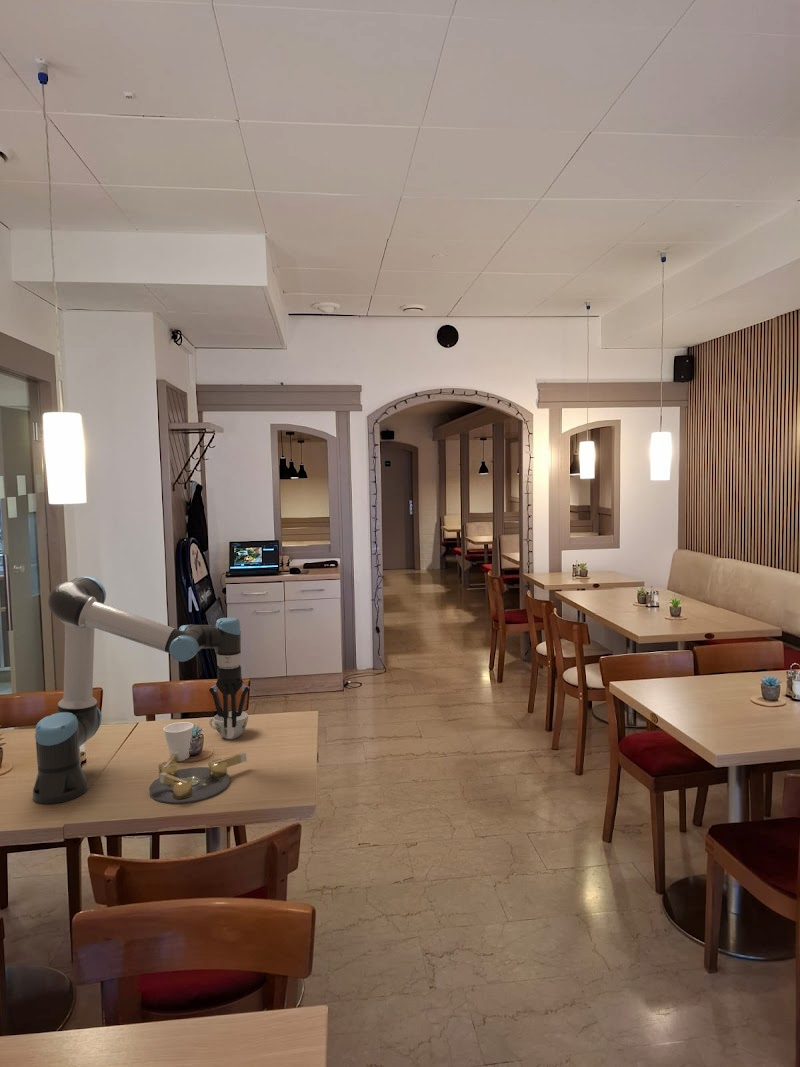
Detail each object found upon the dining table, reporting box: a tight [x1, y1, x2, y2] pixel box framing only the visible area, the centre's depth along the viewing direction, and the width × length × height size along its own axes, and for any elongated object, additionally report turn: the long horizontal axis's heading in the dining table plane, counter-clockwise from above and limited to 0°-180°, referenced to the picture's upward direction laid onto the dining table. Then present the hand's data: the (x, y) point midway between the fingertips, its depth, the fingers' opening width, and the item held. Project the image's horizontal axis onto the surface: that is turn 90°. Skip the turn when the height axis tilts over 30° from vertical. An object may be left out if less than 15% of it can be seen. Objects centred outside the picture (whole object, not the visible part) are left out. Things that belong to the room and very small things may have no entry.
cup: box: [162, 721, 194, 762], centre depth 242 cm, size 10×10×11 cm
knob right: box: [208, 751, 247, 779], centre depth 227 cm, size 13×6×4 cm, turn 135°
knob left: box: [158, 751, 179, 779], centre depth 227 cm, size 13×6×4 cm, turn 3°
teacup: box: [209, 710, 249, 740], centre depth 262 cm, size 15×12×8 cm
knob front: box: [160, 772, 192, 799], centre depth 213 cm, size 13×6×4 cm, turn 53°
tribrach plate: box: [148, 766, 231, 805], centre depth 220 cm, size 24×24×2 cm
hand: (230, 736), depth 230 cm, fingers closed
